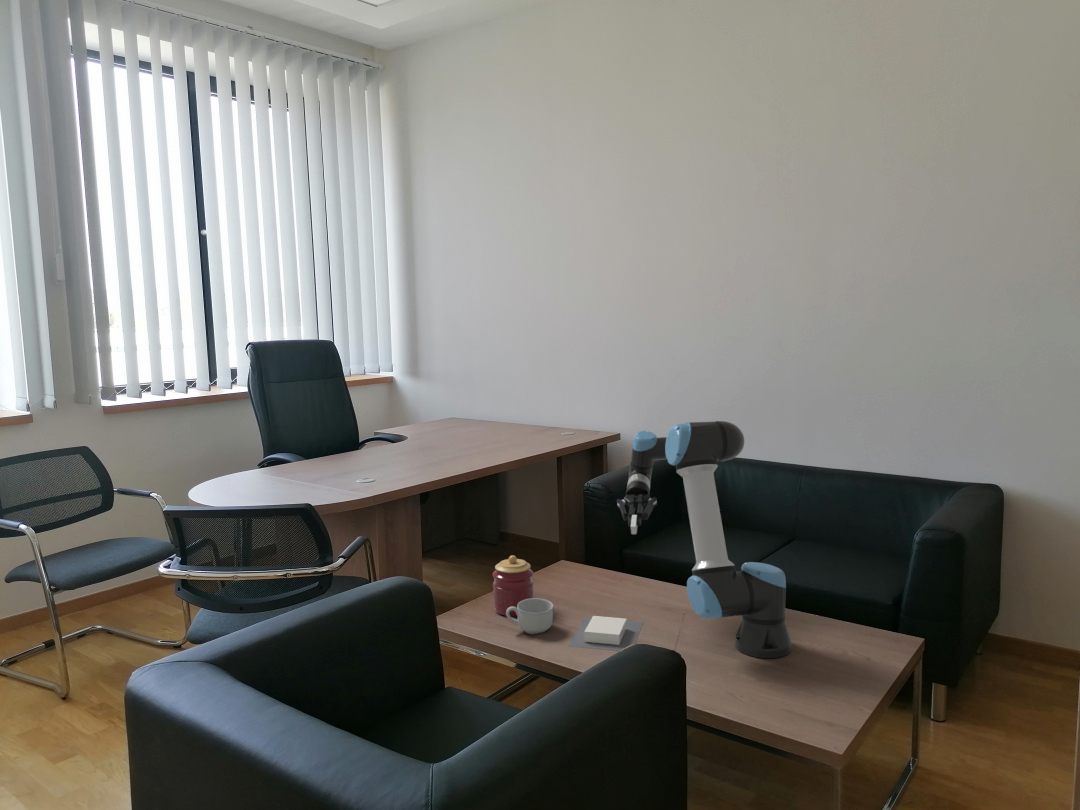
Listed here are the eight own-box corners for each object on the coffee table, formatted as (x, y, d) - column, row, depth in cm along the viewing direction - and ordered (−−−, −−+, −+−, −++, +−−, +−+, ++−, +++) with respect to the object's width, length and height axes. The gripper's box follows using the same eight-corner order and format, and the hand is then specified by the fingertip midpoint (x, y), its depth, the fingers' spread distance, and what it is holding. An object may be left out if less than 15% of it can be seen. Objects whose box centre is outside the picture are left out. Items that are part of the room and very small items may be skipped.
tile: (593, 615, 235) (584, 631, 224) (626, 618, 232) (619, 634, 221) (593, 626, 235) (584, 642, 224) (626, 629, 233) (619, 645, 221)
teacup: (555, 623, 239) (554, 598, 238) (552, 638, 229) (551, 611, 228) (509, 622, 241) (508, 597, 240) (504, 637, 230) (503, 610, 229)
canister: (525, 619, 243) (523, 563, 241) (486, 614, 248) (485, 559, 246) (540, 604, 255) (539, 551, 253) (503, 600, 260) (501, 547, 258)
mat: (585, 618, 243) (585, 616, 243) (643, 623, 238) (643, 621, 238) (568, 647, 222) (568, 645, 222) (631, 653, 217) (631, 652, 217)
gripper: (659, 499, 258) (656, 539, 237) (619, 501, 261) (613, 541, 240) (656, 479, 256) (653, 518, 234) (616, 481, 258) (610, 520, 237)
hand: (633, 530), depth 237 cm, fingers closed
